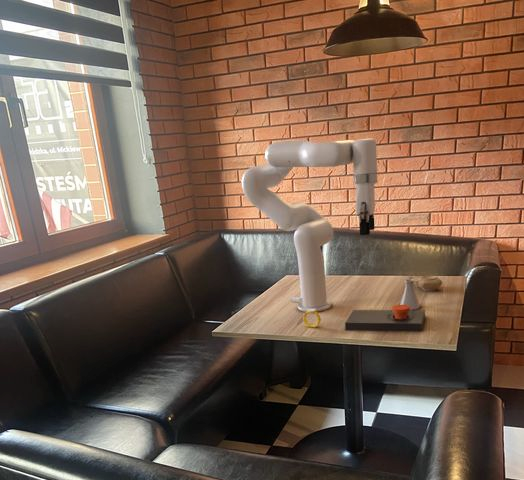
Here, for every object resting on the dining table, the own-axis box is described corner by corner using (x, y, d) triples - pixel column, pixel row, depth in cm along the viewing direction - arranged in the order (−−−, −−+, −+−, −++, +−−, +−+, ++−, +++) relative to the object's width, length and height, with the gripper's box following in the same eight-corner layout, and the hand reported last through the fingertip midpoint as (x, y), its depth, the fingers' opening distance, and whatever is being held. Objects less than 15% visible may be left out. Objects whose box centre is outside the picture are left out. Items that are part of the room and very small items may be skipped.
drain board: (345, 330, 175) (345, 322, 174) (353, 316, 187) (353, 309, 186) (421, 331, 167) (421, 323, 166) (424, 317, 179) (424, 310, 178)
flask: (420, 310, 186) (420, 282, 183) (399, 311, 188) (399, 283, 185) (419, 304, 193) (419, 277, 190) (398, 305, 195) (398, 278, 191)
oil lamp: (407, 285, 219) (407, 273, 217) (444, 285, 213) (444, 273, 211) (402, 292, 210) (402, 280, 208) (441, 292, 204) (441, 279, 202)
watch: (302, 327, 183) (301, 310, 181) (306, 324, 185) (305, 308, 183) (318, 328, 179) (317, 311, 177) (322, 326, 182) (320, 309, 179)
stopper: (391, 326, 174) (391, 309, 172) (393, 320, 179) (393, 304, 177) (409, 326, 172) (409, 309, 170) (410, 321, 177) (410, 304, 175)
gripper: (358, 178, 183) (360, 228, 189) (348, 182, 168) (351, 237, 174) (381, 176, 180) (382, 227, 186) (372, 180, 165) (374, 236, 171)
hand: (367, 232), depth 180 cm, fingers open, 9 cm apart
